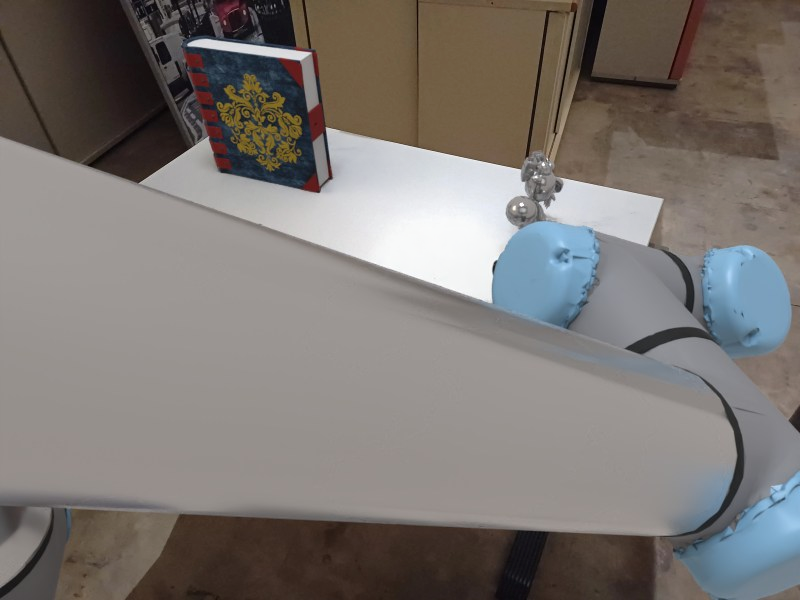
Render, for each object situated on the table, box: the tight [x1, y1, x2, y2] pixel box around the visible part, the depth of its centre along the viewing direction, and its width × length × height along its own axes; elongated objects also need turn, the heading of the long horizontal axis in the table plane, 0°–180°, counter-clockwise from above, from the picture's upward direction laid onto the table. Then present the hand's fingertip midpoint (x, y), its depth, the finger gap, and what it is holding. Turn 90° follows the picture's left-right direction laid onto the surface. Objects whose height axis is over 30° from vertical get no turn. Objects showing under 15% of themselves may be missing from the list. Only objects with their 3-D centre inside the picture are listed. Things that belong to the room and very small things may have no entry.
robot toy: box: [505, 149, 565, 231], centre depth 88 cm, size 15×6×15 cm, turn 144°
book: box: [181, 35, 333, 194], centre depth 103 cm, size 25×7×25 cm, turn 67°
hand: (456, 349), depth 67 cm, fingers open, 13 cm apart
